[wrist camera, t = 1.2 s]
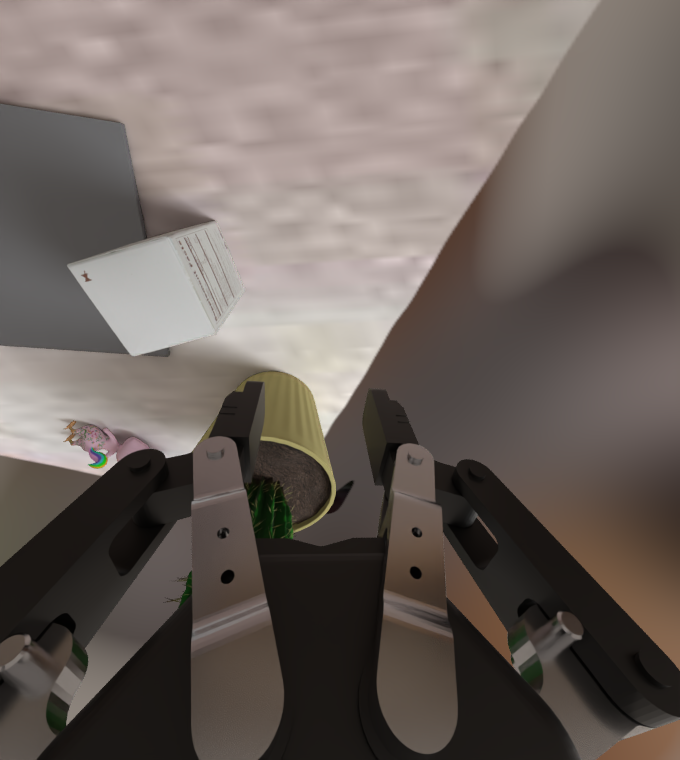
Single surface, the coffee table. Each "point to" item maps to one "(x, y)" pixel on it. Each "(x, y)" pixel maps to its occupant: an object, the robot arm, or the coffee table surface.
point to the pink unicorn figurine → (103, 444)
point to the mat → (61, 225)
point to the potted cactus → (286, 463)
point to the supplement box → (163, 287)
